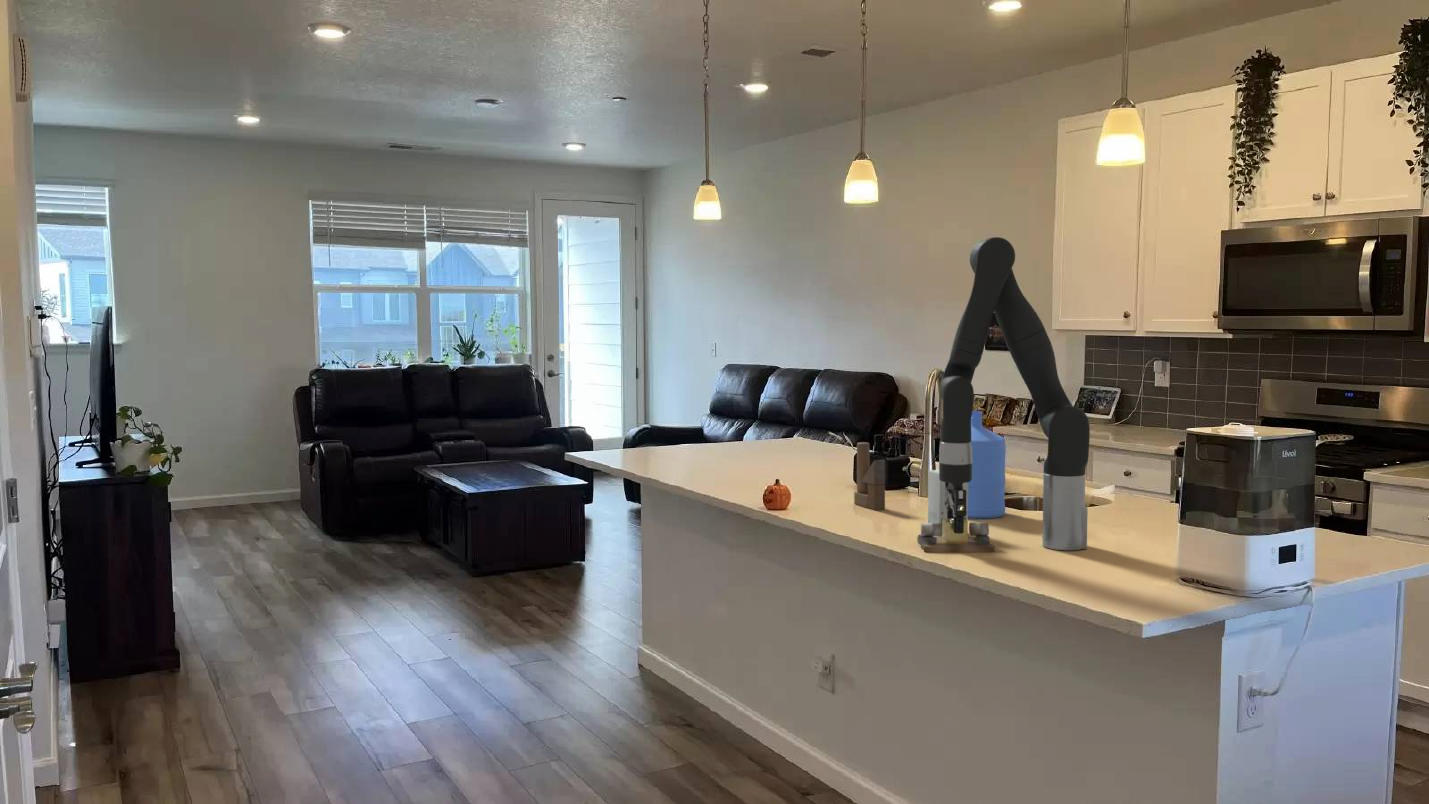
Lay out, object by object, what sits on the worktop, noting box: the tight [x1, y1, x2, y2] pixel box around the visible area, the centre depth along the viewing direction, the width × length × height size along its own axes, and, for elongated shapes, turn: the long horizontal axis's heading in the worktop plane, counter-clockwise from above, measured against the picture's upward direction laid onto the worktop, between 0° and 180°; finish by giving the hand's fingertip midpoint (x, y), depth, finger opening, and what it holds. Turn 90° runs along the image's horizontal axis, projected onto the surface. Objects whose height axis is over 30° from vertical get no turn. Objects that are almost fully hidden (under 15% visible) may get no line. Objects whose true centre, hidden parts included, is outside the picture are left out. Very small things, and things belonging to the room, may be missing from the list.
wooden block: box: [853, 441, 886, 511], centre depth 293 cm, size 4×11×18 cm, turn 24°
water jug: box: [968, 410, 1007, 520], centre depth 280 cm, size 16×16×28 cm
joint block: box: [941, 518, 969, 544], centre depth 242 cm, size 5×5×5 cm
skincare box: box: [927, 469, 969, 524], centre depth 258 cm, size 8×7×16 cm
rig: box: [916, 522, 996, 553], centre depth 242 cm, size 16×11×6 cm, turn 87°
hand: (955, 529), depth 242 cm, fingers open, 8 cm apart
